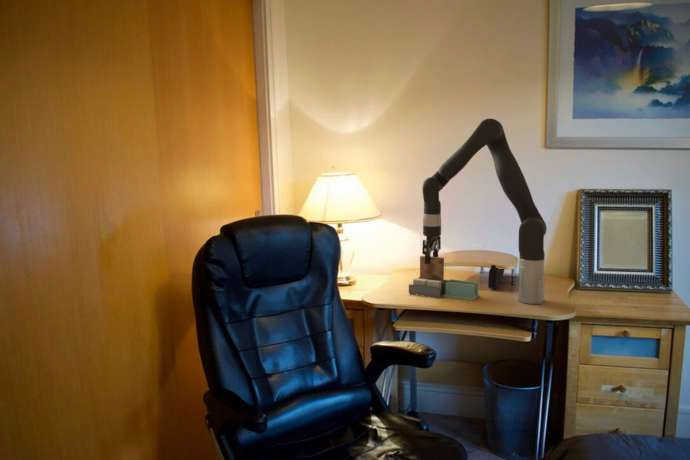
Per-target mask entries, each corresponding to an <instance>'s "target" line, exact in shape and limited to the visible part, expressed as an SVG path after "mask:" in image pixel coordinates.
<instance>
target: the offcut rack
mask: <svg viewBox="0 0 690 460" xmlns="http://www.w3.org/2000/svg"><path fill="white" fill-rule="evenodd" d="M417 278H420V276H418V277H417ZM446 282H450V279H449V280H448V279H444V282H442V283H441V288H436V287H428V286H420V285H413V284H412V283H411V284H408V294H409V293H411V294H410V295H413V294H418V295H417V296H421V295H424V296H423V297H428V296H430V297H429V298H435V297H436V299H441V298H442V297H445V294H446Z"/></svg>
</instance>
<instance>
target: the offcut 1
mask: <svg viewBox="0 0 690 460" xmlns="http://www.w3.org/2000/svg"><path fill="white" fill-rule="evenodd" d="M427 280H428V279H420V278H418V277H415V278H413V280H412V282H413V284H412V285H420V286H426V281H427Z"/></svg>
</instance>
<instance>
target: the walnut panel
mask: <svg viewBox="0 0 690 460" xmlns="http://www.w3.org/2000/svg"><path fill="white" fill-rule="evenodd" d="M419 277H420V279H428V280H437V281H442V282H444V280H445V258H444V257H439V256H438V257H433V256H431V258H430V264H425V255H420V256H419Z"/></svg>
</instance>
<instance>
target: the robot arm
mask: <svg viewBox="0 0 690 460" xmlns="http://www.w3.org/2000/svg"><path fill="white" fill-rule="evenodd" d="M485 147H487V149H488V150H489V152H490V154H491V157H492V160H493V163H494V169H495V174H496V176H497V180H498V182H499V184H500V186H501V188H502V191H503V192H504V194H505V196H506V197H507V198H508V201H510V203H511V205H513V207H514V209H515V210H516V213H517V215H518V217H519V220H520V225H519V228H518V254H519V256H518V257H519V261H518V263H519V265H518V268H519V269H518V295H517V296H518V297H517V300H518V301H519V302H521V303H522V304H529V305H530V304H531V305H542V304H543V303H544V302H545V290H546V289H545V283H546V277H545V273H544V272H545V258H546V257H545V256H546V255H545V249H544V246H545V245H544V241H545V240H544V239H545V235H546V234H547V231H548V230H547V229H548V228H547V223H546V222H545V220H544V218H543V217H542V215H541V213H540V212H539V209H538V208H537V206H536V204H535V202H534V200H533V197H532V194H531V191H530V188H529V185H528V183H527V180H526V178H525V176H524V175H525V174H523V171H522V169H521V167H520V165H519V163H518V161H517V159H516V157H515V156H514V154H513V152H512V150H511V148H510V145H509V143H508V140H507V137H506V133H505V131H504V127H503V125H502V123H501V122H500V121H499V120H498V119H495V118H486V119H483V120H482V121H480V123H479V124H478V126H476V128H475V130H474V131H473V132H472V134H471V135H470V136H469V137H468V138H467V140H466V141H465V142H464V143H463V144H462V145H461V146H460V147H459V148H457V150H456V151H455V152H454V153H452V154H451V156H449V157H448V158H447V159H446V161H444V162H443V163H442V164H441V165H440V166H439V168H438V170H437V171H436V172H434V174H433V175H431V176H430V177H427V178H425V180H424V181H423V183H422V196H423V197H422V198H423V217H422V235H423V236H424V237H426V238H425V239H423V240H422V255H423V256H425V264H430V258H431V257H439V251H440V250H441V249H442V248H441V247H442V246H441V245H442V244H441V243H442V242H441V240H442V239H441V235H442V211H441V210H442V205H441V201H440V192H441V190H443V189H444V188H445V186H447V184H448V183H449V182H450V181H451V180H452V179H453V178H455V177H456V176H457V175H458V174H459V173H460V172H461V171H463V169H464V168H465V167H466V166H467V165H468V163H469V162H470V161H471V159H473V157H474V156H475V155H476V154H477V153H478V152H479V151H480V150H481V149H482V148H485ZM431 254H432V256H431Z"/></svg>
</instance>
